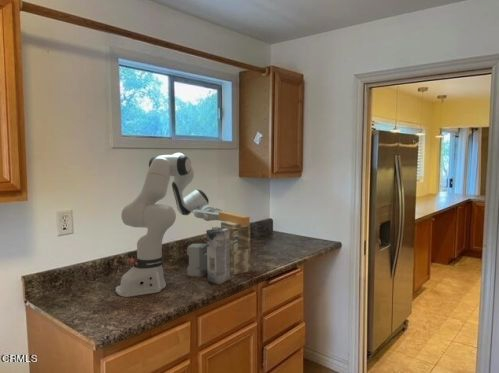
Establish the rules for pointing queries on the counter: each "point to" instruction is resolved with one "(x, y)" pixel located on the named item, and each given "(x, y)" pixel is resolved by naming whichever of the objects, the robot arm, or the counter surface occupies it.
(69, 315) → the counter surface
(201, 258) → the circuit breaker
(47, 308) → the counter surface
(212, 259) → the juice carton
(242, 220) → the orange bar
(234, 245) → the baking soda box
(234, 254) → the birch stool
